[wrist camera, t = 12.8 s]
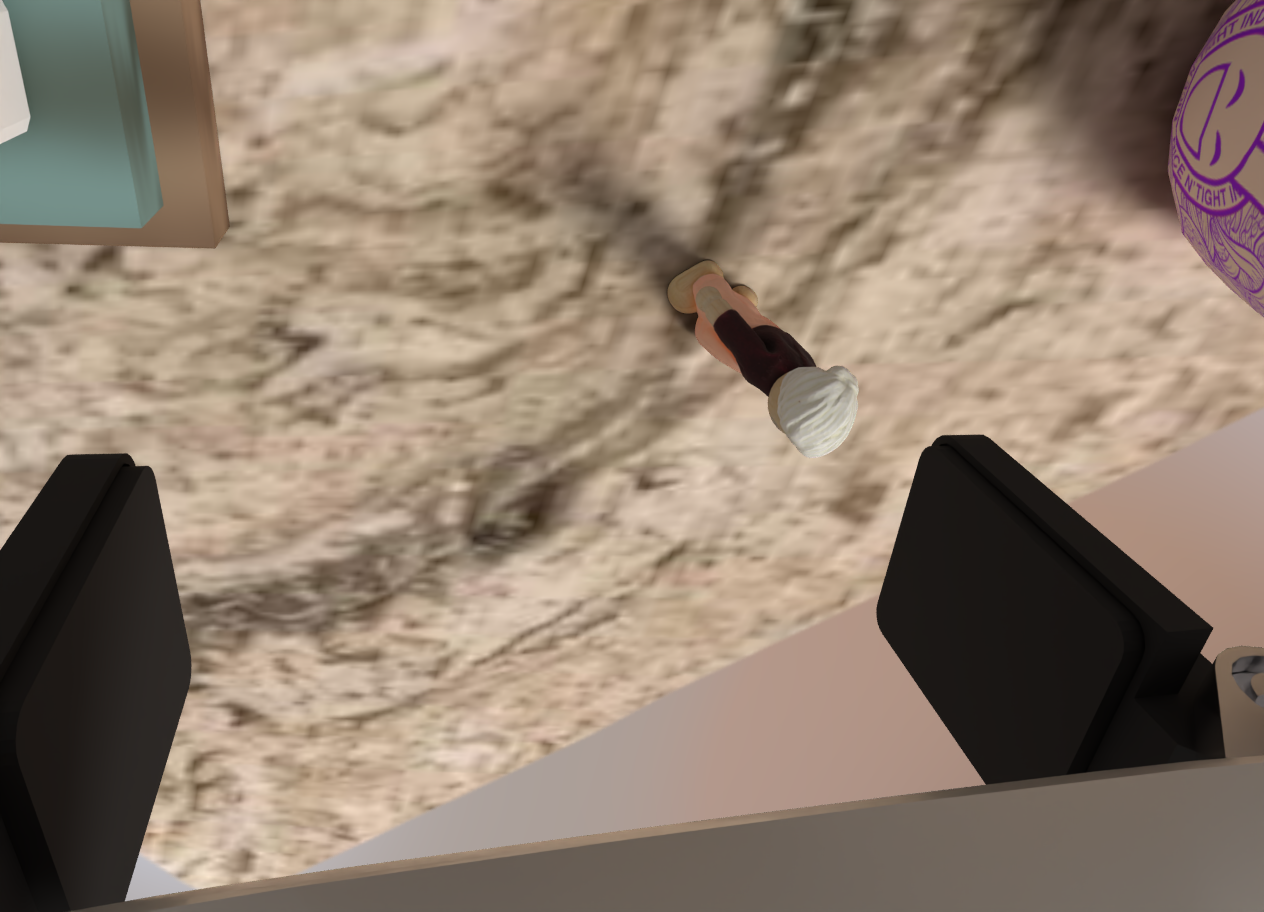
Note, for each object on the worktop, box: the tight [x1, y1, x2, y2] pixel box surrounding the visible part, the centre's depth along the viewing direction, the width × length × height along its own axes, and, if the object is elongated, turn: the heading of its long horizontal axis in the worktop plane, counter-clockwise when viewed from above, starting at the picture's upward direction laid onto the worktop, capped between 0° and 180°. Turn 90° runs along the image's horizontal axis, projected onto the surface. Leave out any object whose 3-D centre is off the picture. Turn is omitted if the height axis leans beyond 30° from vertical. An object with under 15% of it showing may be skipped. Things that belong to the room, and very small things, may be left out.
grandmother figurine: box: [667, 261, 859, 458], centre depth 35 cm, size 8×4×13 cm, turn 61°
